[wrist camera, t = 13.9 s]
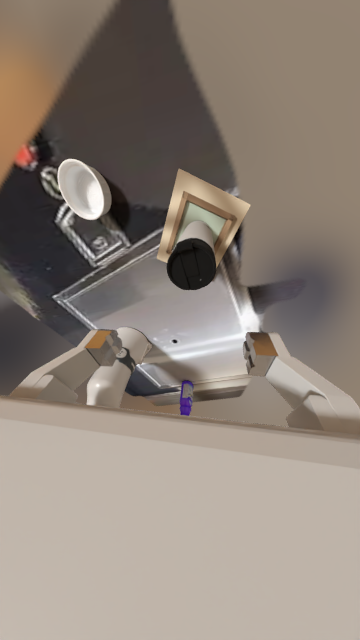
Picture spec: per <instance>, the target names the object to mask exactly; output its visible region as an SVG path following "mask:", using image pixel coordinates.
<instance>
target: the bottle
mask: <svg viewBox="0 0 360 640" xmlns="http://www.w3.org/2000/svg"><path fill="white" fill-rule="evenodd" d="M192 398H193V384H192V383H191V382H190V381H183V382H182V387H181V395H180V405H181V406H180V411H181V415H185V416H189V414H190V411H191V406H192Z"/></svg>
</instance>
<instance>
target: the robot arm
mask: <svg viewBox="0 0 360 640" xmlns="http://www.w3.org/2000/svg"><path fill="white" fill-rule="evenodd" d="M151 348H152V344H151V343H149V342H148V340H147V339H146V337H145V336H144V335H143V334H142V333H141V332H139V331H137V330H135V329H132V328H128V327H122V328H118V329H117V330H105V329H93V330H91V331H90V332H89V333H88V335H87V336H86V337H85V338H84V339H83V340H82V342H81V343H80V344H79V345H78V346H77V348H73V349H71V350H70V351H68V352H66V353H65V354H63V355H61V356H59V357H58V358H56V359H54V360H52V361H51V362H49V363H47V364H45V365H44V366H42V367H40V368H39V369H37V370H35V371H33V372H32V373H30V375H29V376H28V377H27V378H26V379H25V380H24V381H23V382H22V383H21V384H20V385H19V386H18V387H17V388H16V389H15V390H14V391H13V392H12V393H11V394H10V395H9V396H4V395H0V640H360V408H359V407H358V406H357V404H356V403H355V402H354V400H353V399H352V398H351V397H350V396H349V395H347V394H346V393H344V392H343V391H342V390H340V389H338V388H337V387H336V386H334V385H333V384H332V383H330V382H329V381H327V380H326V379H325V378H323V377H322V376H320V375H319V374H317V373H316V372H315V371H313V370H312V369H311V368H309V367H308V366H306V365H305V364H303V363H302V362H300V361H299V360H298V359H296V358H295V357H291V356H290V354H289V352H288V350H287V348H286V347H285V345H284V343H283V341H282V340H281V338H280V336H279V334H278V333H276V332H275V333H274V332H271V333H270V332H267V333H266V332H247V334H246V341H245V342H244V344H243V355H244V358H245V359H246V360H247V363H246V367H247V371H248V375H254V376H265V378H266V379H267V380H268V381H269V382H270V383H271V385H272V386H273V387H274V388H275V389H276V390H277V391H278V392H279V393H280V395H281V396H282V397H283V398H284V399H285V400H286V401H287V402H288V403H289V405H290V406H291V407H292V408H293V409H294V410H293V411H292V412H291V413H290V414H289V415H288V416H287V417H286V420H287V423H288V426H289V427H284V426H276V425H267V424H258V423H249V422H239V421H231V420H221V419H212V418H203V417H194V416H185V415H176V414H167V413H158V412H149V411H140V410H131V409H121V408H120V403H121V399H122V395H123V392H124V390H125V387H126V385H127V382H128V380H129V377H130V375H132V373H133V372H134V369H135V366H136V365H137V364H140V365H141V364H142V362H143V358H144V357H145V356H146V354H147V353H148V352H149V351H150V349H151ZM94 372H95V373H94ZM93 373H94V374H93ZM92 374H93V376H92V377H91V379H90V381H89V382H88V385H87V395H88V397H87V404H79V403H76V402H75V401H76V399H77V397H78V395H77V394H76V393H75V392H73V390H75V389H76V388H77V387H78V386H79V385H80V384H81V383H83V382H84V381H85V380H86V379H87V378H88V377H89V376H90V375H92Z"/></svg>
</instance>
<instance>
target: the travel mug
mask: <svg viewBox="0 0 360 640" xmlns="http://www.w3.org/2000/svg"><path fill="white" fill-rule="evenodd" d="M167 273H168V276H169V278H170V280H171V281H172V282H173V283H174V284H175V285H176V286H177V287H179V288H181V289H183V290H197V289H200V288H202V287H205V286H207V285H208V284H209V283H210V282H211V281H212V280H213V278H214V276H215V273H216V258H215V251H214V245H213V239H212V233H211V229H210V227H209V226H208V224H206V223H205V222H203V221H200V220H196V221H193V222H191V223H190V224H189V225H188V226H187V227H186V229H185V230H184V232H183V234H182V235H181V237H180V239H179V240H178V242H177V244H176V246H175V247H174V249H173V251H172V253H171V255H170V257H169V259H168V262H167Z"/></svg>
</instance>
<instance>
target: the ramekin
mask: <svg viewBox="0 0 360 640" xmlns="http://www.w3.org/2000/svg"><path fill="white" fill-rule="evenodd" d="M58 183H59V187H60V191H61V193H62V196H63V198H64V199H65V201H66V203H67V204H68V205H69V207H70V208H71V209H72V210H73V211H74V212H75V213H76V214H77V215H79V216H80V217H82V218H84V219H88V220H95V219H98V218H99V217H100V216H102V215H104V214H106V213H107V212H108V211H109V209H110V207H111V193H110V189H109V187H108V184H107V182H106V181H105V179H104V178H103V176H102V175H101V174H100V173H99V172H98V171H97V170H95V169H94V168H92V167H90V166H88V165H86V164H84V163H82V162H81V161H78V160H75V159H67V160H65V161H63V162H62V164H61V165H60V167H59V170H58Z"/></svg>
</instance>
